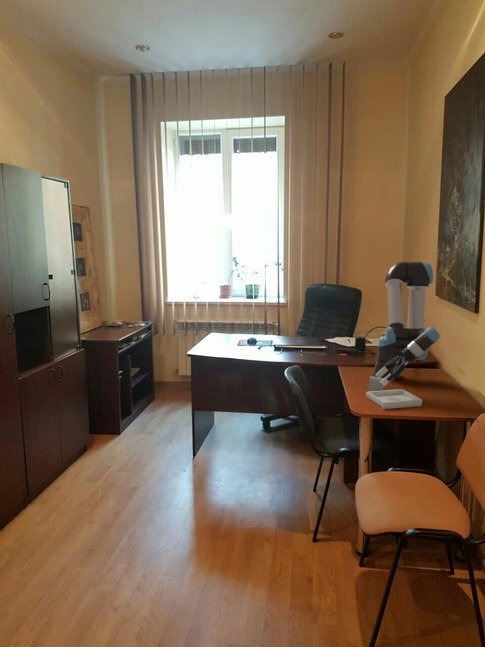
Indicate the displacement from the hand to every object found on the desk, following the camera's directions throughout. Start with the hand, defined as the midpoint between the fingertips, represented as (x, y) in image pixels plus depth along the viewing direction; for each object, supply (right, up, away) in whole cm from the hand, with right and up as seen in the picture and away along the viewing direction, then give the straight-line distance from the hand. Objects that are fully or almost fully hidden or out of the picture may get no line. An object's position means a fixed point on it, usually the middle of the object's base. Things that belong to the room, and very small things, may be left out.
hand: (379, 380), depth 233 cm
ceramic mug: (0, -6, +4) cm, 7 cm away
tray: (+3, -9, -13) cm, 15 cm away
